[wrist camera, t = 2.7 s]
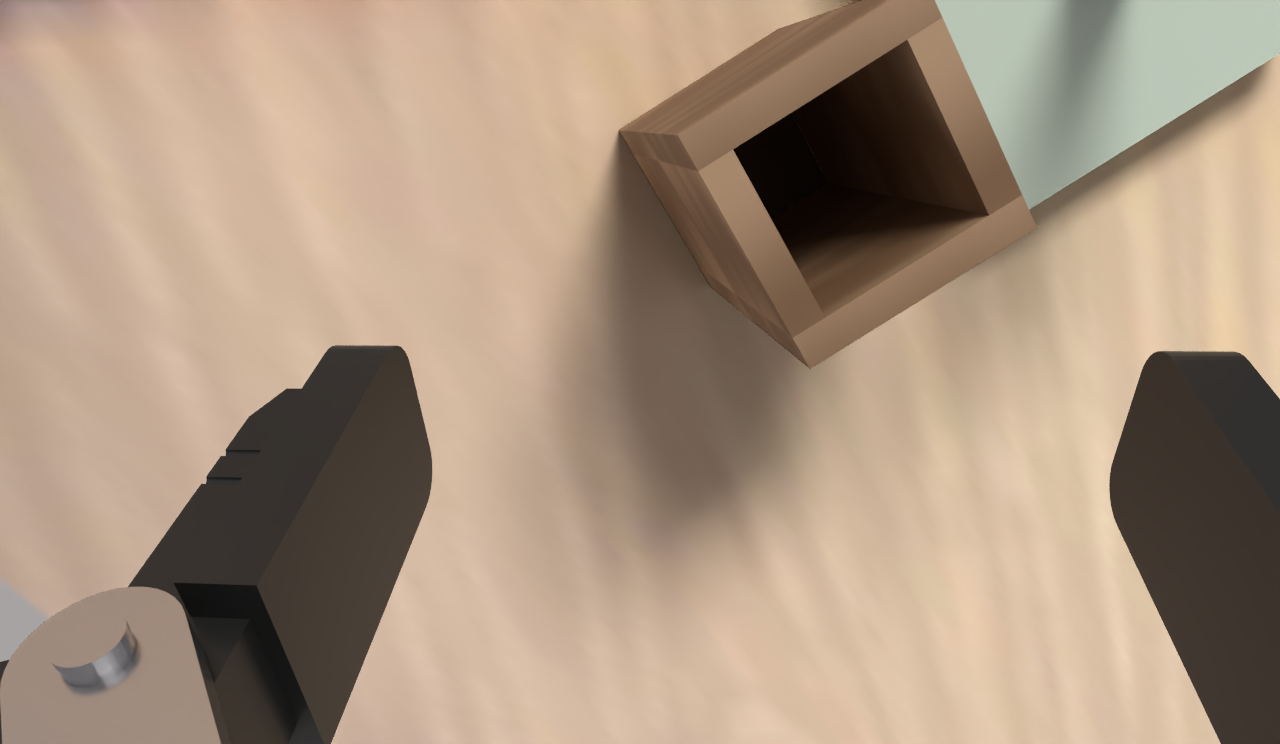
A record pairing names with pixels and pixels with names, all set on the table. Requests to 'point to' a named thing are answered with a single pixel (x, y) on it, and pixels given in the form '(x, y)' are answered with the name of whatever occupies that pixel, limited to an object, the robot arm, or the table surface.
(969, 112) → the brown wooden tall box
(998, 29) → the pale green square base
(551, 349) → the table surface
